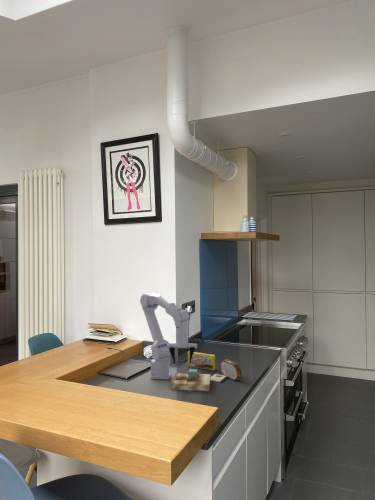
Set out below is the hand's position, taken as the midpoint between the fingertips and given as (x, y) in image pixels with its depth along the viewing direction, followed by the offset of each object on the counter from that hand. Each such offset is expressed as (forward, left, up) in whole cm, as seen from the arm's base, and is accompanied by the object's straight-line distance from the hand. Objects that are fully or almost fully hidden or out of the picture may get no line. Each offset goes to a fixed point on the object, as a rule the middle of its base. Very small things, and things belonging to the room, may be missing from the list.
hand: (182, 363), depth 181 cm
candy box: (+7, +26, -11) cm, 29 cm away
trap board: (+4, 0, -11) cm, 11 cm away
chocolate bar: (+18, +14, -11) cm, 26 cm away
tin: (+23, +12, -11) cm, 28 cm away
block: (+5, 0, -8) cm, 9 cm away
